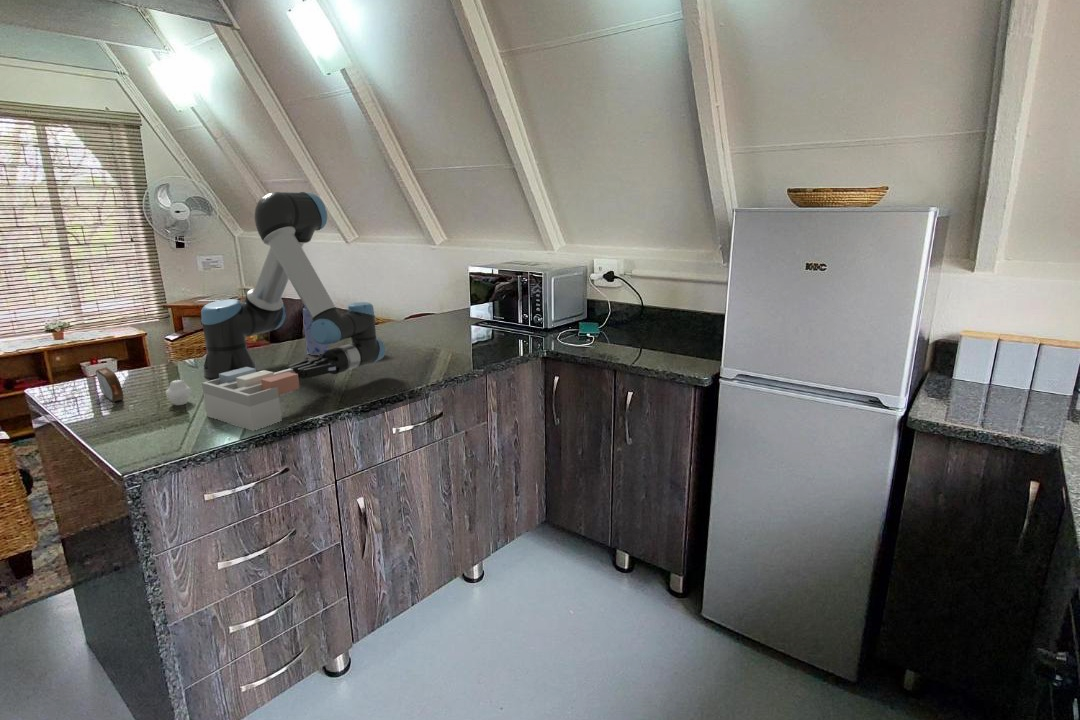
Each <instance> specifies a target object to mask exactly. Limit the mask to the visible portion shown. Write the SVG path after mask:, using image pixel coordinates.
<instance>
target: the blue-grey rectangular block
mask: <svg viewBox="0 0 1080 720" xmlns="http://www.w3.org/2000/svg"><path fill="white" fill-rule="evenodd" d="M255 372H257V368H256V369H254V368H250V367H244V368H240V369H236V370H232V371H228V372H224V373H220V374H219V379H220V384H224V383H227V382H231V381H235V380H236V377H240V376H244V375H248V374H251V373H255Z"/></svg>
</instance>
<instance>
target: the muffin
mask: <svg viewBox="0 0 1080 720" xmlns="http://www.w3.org/2000/svg"><path fill="white" fill-rule="evenodd" d="M191 393H192V388H191V387H190V386H188V385H187V384H186V383H185V381H184V380H183V379H176V380H172V381H170V383H169V386H168V388H167V389H166V390H165V395H166V397H167V398H168V399H169V401H170V402H171V403H172V404H173V405H174V406H181V405H182V406H183V405H185V404H187V403H188V401H189V400H190V397H191Z"/></svg>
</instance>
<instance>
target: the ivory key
mask: <svg viewBox="0 0 1080 720" xmlns="http://www.w3.org/2000/svg"><path fill="white" fill-rule="evenodd" d="M274 373H275V372H274V371H269V370H266V369H263V370H260V371H256V372H255V373H251V374H248V375H244V376H240V377H236V381H237V387H238V388H241V387H245V386H248V385H252V384H255V383H261V379H264V378H268V377H272V376H274Z"/></svg>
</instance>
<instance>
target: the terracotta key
mask: <svg viewBox="0 0 1080 720" xmlns="http://www.w3.org/2000/svg"><path fill="white" fill-rule="evenodd" d="M261 383H262V391H263V390H267V389H270V388H274V387H278V395H279V396H280V395H283V394H287V393H289V392H293V391H297V390H299V389H300V388H301V387H300V380H299V378H298V374H296V373H291V372H286V373H282V374H279V375H275V376H272V377H268V378H264V379H261Z"/></svg>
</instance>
